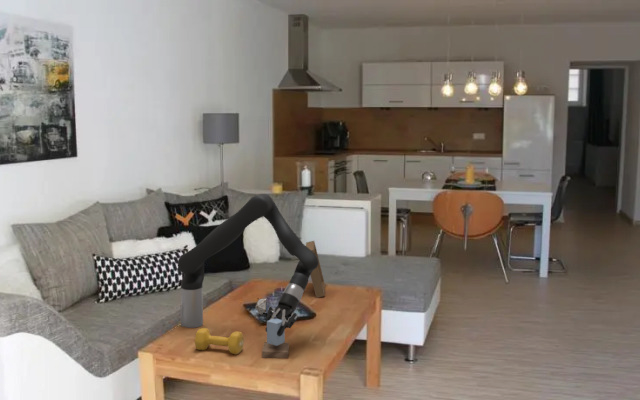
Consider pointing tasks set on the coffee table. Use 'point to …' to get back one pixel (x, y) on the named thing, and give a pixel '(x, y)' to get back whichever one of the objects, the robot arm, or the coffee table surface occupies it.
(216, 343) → the dumbbell
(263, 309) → the game die
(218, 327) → the coffee table surface
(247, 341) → the coffee table surface
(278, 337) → the pillar
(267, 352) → the slab
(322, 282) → the photo frame
